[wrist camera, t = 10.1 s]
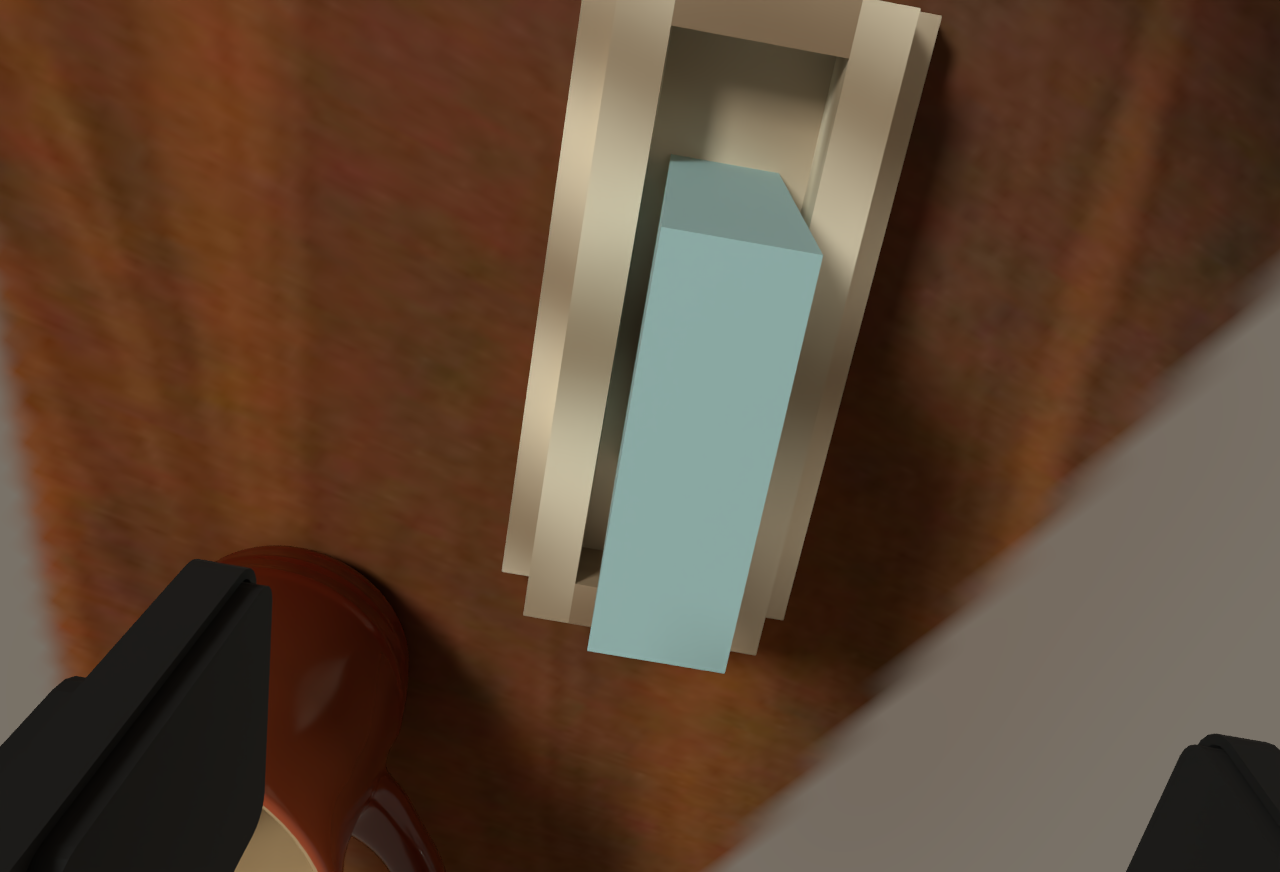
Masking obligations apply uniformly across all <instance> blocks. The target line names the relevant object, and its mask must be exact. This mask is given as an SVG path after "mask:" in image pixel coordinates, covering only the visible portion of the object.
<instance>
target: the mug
mask: <svg viewBox="0 0 1280 872" xmlns="http://www.w3.org/2000/svg"><path fill="white" fill-rule="evenodd" d="M216 562H218V563H224V564H230V565H236V566H241V567H247V568H251V569H252V570H253V571H254V572H255V576H256V584H260V585H265V586H269V587H270V588H271V591H272V625H271V650H270V674H269V699H268V723H267V748H266V773H265V794H264V802H263V807H262V812H261V815H260V819H259V822H258V825H257V827H256V830H255V832H254V834H253V836H252V838H251V840H250V842H249V844H248V846H247V848H246V850H245V851H244V853H243V855H242V857H241V859H240V861H239V863H238V865H237V867H236V869H235V871H234V872H343V870H344V859H345V854H346V850H347V846H348V843H349V840H350V837H353V838H355V839H357V840H358V841H360V842H361V843H363V844H364V845H366V846H367V847H368V848H370V849H371V850H372V851H373V852H374V853H375V854H376V855H377V856H378V857H379V858H380V859H381V860H382V862H383V863H384V864H385V865H386V867H387V868H388V870H389V872H446V870H445V867H444V864H443V862H442V859H441V856H440V854H439V852H438V850H437V848H436V846H435V844H434V842H433V841H432V839H431V837H430V835H429V834H428V832H427V830H426V828H425V827H424V825H423V823H422V821H421V820H420V818H419V816H418V814H417V812H416V810H415V808H414V806H413V805H412V803H411V801H410V799H409V797H408V796H407V794H406V793H405V791H404V790H403V789H402V787H401V786H400V785H399V784H398V783H397V782H396V781H395V779H394V778H393V777H392V776H391V775H390V774H389V772H388V770H387V768H386V760H387V756H388V753H389V751H390V748H391V746H392V744H393V743H394V741H395V740H396V738H397V736H398V734H399V732H400V728H401V724H402V719H403V711H404V707H405V703H406V697H407V689H408V672H409V652H408V646H407V641H406V637H405V633H404V630H403V628H402V625H401V622H400V620H399V618H398V616H397V614H396V612H395V611H394V609H393V608H392V606H391V605H390V603H389V602H388V600H387V599H386V598H385V597H384V595H383V594H382V593H381V592H380V591H379V590H378V589H377V588H376V587H375V586H374V585H373V584H372V583H371V582H370V581H369V580H368V579H367V578H365V577H364V576H363V575H361V574H360V573H359V572H357V571H356V570H354V569H353V568H351V567H350V566H348V565H346V564H344V563H342V562H341V561H339V560H337V559H334V558H332V557H330V556H327V555H325V554H322V553H319V552H316V551H312V550H308V549H304V548H298V547H292V546H261V547H254V548H249V549H244V550H241V551H238V552H235V553H232V554H230V555H227V556H225V557H223V558H221V559H219V560H218V561H216Z"/></svg>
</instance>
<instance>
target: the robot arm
mask: <svg viewBox="0 0 1280 872" xmlns="http://www.w3.org/2000/svg"><path fill="white" fill-rule="evenodd" d="M271 625H272V591H271V588H270V587H269V586H265V585H260V584H256V576H255V572H254V571H253V570H252V569H251V568H247V567H241V566H236V565H230V564H224V563H218V562H212V561H206V560H201V559H194V560H192V561H190V562H189V563H188V564H187V565H186V566H185V567H184V568H183V569H182V570H181V571H180V573H179V574H178V575H177V576H176V577H175V578H174V579H173V581H172V582H171V583H170V584H169V585H168V586H167V587H166V588H165V590H164V591H163V592H162V593H161V594H160V595H159V596H158V597H157V599H156V600H155V601H154V602H153V603H152V604H151V605H150V606H149V608H148V609H147V610H146V611H145V612H144V613H143V614H142V615H141V617H140V618H139V619H138V620H137V621H136V622H135V623H134V624H133V626H132V627H131V628H130V629H129V630H128V631H127V632H126V633H125V635H124V636H123V637H122V638H121V639H120V640H119V641H118V642H117V644H116V645H115V646H114V647H113V648H112V649H111V650H110V651H109V653H108V654H107V655H106V656H105V657H104V658H103V659H102V660H101V662H100V663H99V664H98V665H97V666H96V667H95V668H94V669H93V671H92V672H91V673H90V674H89V675H88V676H87V677H86V678H84V677H78V676H74V677H71V678H68V679H65V680H64V681H62V682H61V683H60V684H59V685H58V686H56V687H55V688H54V689H53V690H52V691H51V692H50V693H49V694H48V695H47V696H46V698H45V699H44V700H43V701H42V702H41V703H40V704H39V705H38V706H37V707H36V708H35V709H34V711H33V712H32V713H31V714H30V715H29V716H28V717H27V718H26V719H25V720H24V721H23V723H22V724H21V725H20V726H19V727H18V728H17V729H16V730H15V731H14V732H13V733H12V734H11V736H10V737H9V738H8V739H7V740H6V741H5V742H4V743H3V744H2V745H1V746H0V872H234V871H235V869H236V867H237V865H238V863H239V861H240V859H241V857H242V855H243V853H244V851H245V850H246V848H247V846H248V844H249V842H250V840H251V838H252V836H253V834H254V832H255V830H256V827H257V825H258V822H259V819H260V815H261V812H262V807H263V802H264V794H265V773H266V748H267V723H268V699H269V674H270V650H271ZM1126 872H1280V750H1279V749H1278V748H1277V747H1276V746H1275V745H1272V744H1270V743H1267V742H1261V741H1256V740H1250V739H1244V738H1238V737H1232V736H1225V735H1221V734H1211V735H1207V736H1206V737H1205V738H1203V739H1202V740H1201V741H1200V743H1199V744H1198V745H1190V746H1188V747H1187V748H1186V749H1184V751H1183V752H1182V754H1181V755H1180V757H1179V759H1178V761H1177V764H1176V766H1175V768H1174V770H1173V772H1172V774H1171V776H1170V779H1169V781H1168V783H1167V785H1166V787H1165V789H1164V792H1163V794H1162V796H1161V798H1160V800H1159V802H1158V804H1157V806H1156V809H1155V811H1154V813H1153V815H1152V817H1151V819H1150V821H1149V824H1148V826H1147V828H1146V830H1145V832H1144V835H1143V836H1142V839H1141V841H1140V843H1139V845H1138V847H1137V850H1136V851H1135V854H1134V856H1133V858H1132V860H1131V863H1130V864H1129V867H1128V869H1127V871H1126Z"/></svg>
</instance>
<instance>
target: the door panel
mask: <svg viewBox="0 0 1280 872" xmlns="http://www.w3.org/2000/svg"><path fill="white" fill-rule="evenodd" d="M822 258H823V254H822V252H821V250H820V248H819V247H818V245H817V243H816V241H815V239H814V237H813V235H812V234H811V232H810V230H809V228H808V226H807V224H806V222H805V221H804V219H803V217H802V215H801V213H800V211H799V209H798V208H797V206H796V204H795V202H794V200H793V198H792V196H791V195H790V193H789V191H788V189H787V187H786V185H785V183H784V182H783V180H782V178H781V176H780V174H779V173H775V172H769V171H764V170H758V169H752V168H747V167H741V166H736V165H730V164H724V163H719V162H713V161H707V160H702V159H696V158H690V157H685V156H679V155H673V154H671V157H670V163H669V168H668V174H667V180H666V186H665V191H664V197H663V203H662V209H661V215H660V220H659V226H658V232H657V238H656V243H655V249H654V255H653V261H652V267H651V272H650V278H649V284H648V290H647V295H646V301H645V307H644V313H643V319H642V324H641V330H640V336H639V342H638V347H637V353H636V359H635V365H634V371H633V376H632V382H631V388H630V394H629V399H628V405H627V411H626V417H625V423H624V428H623V434H622V440H621V446H620V451H619V457H618V463H617V469H616V476H615V482H614V488H613V494H612V500H611V507H610V513H609V519H608V525H607V531H606V538H605V544H604V550H603V556H602V562H601V569H600V575H599V581H598V587H597V593H596V600H595V606H594V612H593V618H592V624H591V631H590V637H589V643H588V649H587V651H592V652H598V653H604V654H610V655H616V656H622V657H628V658H634V659H640V660H646V661H652V662H658V663H664V664H670V665H676V666H682V667H688V668H694V669H700V670H706V671H712V672H718V673H724V674H725V670H726V666H727V662H728V657H729V653H730V649H731V645H732V640H733V636H734V632H735V628H736V623H737V619H738V615H739V611H740V606H741V602H742V598H743V594H744V589H745V585H746V581H747V577H748V572H749V568H750V564H751V560H752V555H753V551H754V547H755V543H756V538H757V534H758V530H759V526H760V521H761V517H762V513H763V509H764V504H765V500H766V496H767V492H768V487H769V483H770V479H771V475H772V471H773V466H774V462H775V458H776V454H777V449H778V445H779V441H780V437H781V432H782V428H783V424H784V420H785V415H786V411H787V407H788V403H789V398H790V394H791V390H792V386H793V381H794V377H795V373H796V369H797V364H798V360H799V356H800V352H801V347H802V343H803V339H804V335H805V330H806V326H807V322H808V318H809V313H810V309H811V305H812V301H813V296H814V292H815V288H816V284H817V279H818V275H819V271H820V267H821V262H822Z"/></svg>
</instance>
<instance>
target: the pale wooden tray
mask: <svg viewBox="0 0 1280 872" xmlns="http://www.w3.org/2000/svg"><path fill="white" fill-rule="evenodd" d="M920 9H921V8H916V7H911V6H906V5H900V4H895V3H890V2H884V1H879V0H582V4H581V11H580V18H579V25H578V32H577V39H576V47H575V54H574V61H573V68H572V75H571V82H570V89H569V96H568V104H567V111H566V118H565V125H564V132H563V139H562V146H561V153H560V161H559V168H558V175H557V182H556V189H555V196H554V203H553V210H552V218H551V225H550V232H549V239H548V246H547V253H546V260H545V267H544V275H543V282H542V289H541V296H540V303H539V310H538V317H537V324H536V332H535V339H534V346H533V353H532V360H531V367H530V374H529V381H528V389H527V396H526V403H525V410H524V417H523V424H522V431H521V438H520V446H519V453H518V460H517V467H516V474H515V481H514V488H513V495H512V503H511V510H510V517H509V524H508V531H507V538H506V545H505V552H504V560H503V567H502V572H507V573H513V574H519V575H525V576H529V580H528V586H527V593H526V599H525V606H524V613H523V615H524V616H530V617H536V618H542V619H548V620H553V621H559V622H565V623H571V624H577V625H582V626H588V627H591V624H592V618H593V612H594V606H595V600H596V593H597V587H598V581H599V575H600V569H601V562H602V556H603V550H604V544H605V538H606V531H607V525H608V519H609V513H610V507H611V500H612V494H613V488H614V482H615V476H616V469H617V463H618V457H619V451H620V446H621V440H622V434H623V428H624V423H625V417H626V411H627V405H628V399H629V394H630V388H631V382H632V376H633V371H634V365H635V359H636V353H637V347H638V342H639V336H640V330H641V324H642V319H643V313H644V307H645V301H646V295H647V290H648V284H649V278H650V272H651V267H652V261H653V255H654V249H655V243H656V238H657V232H658V226H659V220H660V215H661V209H662V203H663V197H664V191H665V186H666V180H667V174H668V168H669V163H670V157H671V154H673V155H679V156H685V157H690V158H696V159H702V160H707V161H713V162H719V163H724V164H730V165H736V166H741V167H747V168H752V169H758V170H764V171H769V172H775V173H779V174H780V176H781V178H782V180H783V182H784V183H785V185H786V187H787V189H788V191H789V193H790V195H791V196H792V198H793V200H794V202H795V204H796V206H797V208H798V209H799V211H800V213H801V215H802V217H803V219H804V221H805V222H806V224H807V226H808V228H809V230H810V232H811V234H812V235H813V237H814V239H815V241H816V243H817V245H818V247H819V248H820V250H821V252H822V254H823V258H822V262H821V267H820V271H819V275H818V279H817V284H816V288H815V292H814V296H813V301H812V305H811V309H810V313H809V318H808V322H807V326H806V330H805V335H804V339H803V343H802V347H801V352H800V356H799V360H798V364H797V369H796V373H795V377H794V381H793V386H792V390H791V394H790V398H789V403H788V407H787V411H786V415H785V420H784V424H783V428H782V432H781V437H780V441H779V445H778V449H777V454H776V458H775V462H774V466H773V471H772V475H771V479H770V483H769V487H768V492H767V496H766V500H765V504H764V509H763V513H762V517H761V521H760V526H759V530H758V534H757V538H756V543H755V547H754V551H753V555H752V560H751V564H750V568H749V572H748V577H747V581H746V585H745V589H744V594H743V598H742V602H741V606H740V611H739V615H738V619H737V623H736V628H735V632H734V636H733V640H732V645H731V649H730V651H733V652H738V653H744V654H750V655H756V653H757V649H758V645H759V641H760V637H761V633H762V629H763V625H764V621H765V617H766V618H772V619H778V620H783V619H784V615H785V612H786V608H787V604H788V600H789V596H790V593H791V589H792V585H793V581H794V577H795V574H796V570H797V566H798V562H799V558H800V555H801V551H802V547H803V543H804V539H805V536H806V532H807V528H808V524H809V520H810V516H811V513H812V509H813V505H814V501H815V497H816V494H817V490H818V486H819V482H820V478H821V475H822V471H823V467H824V463H825V459H826V456H827V452H828V448H829V444H830V440H831V437H832V433H833V429H834V425H835V421H836V417H837V414H838V410H839V406H840V402H841V398H842V395H843V391H844V387H845V383H846V379H847V376H848V372H849V368H850V364H851V360H852V357H853V353H854V349H855V345H856V341H857V338H858V334H859V330H860V326H861V322H862V319H863V315H864V311H865V307H866V303H867V299H868V296H869V292H870V288H871V284H872V280H873V277H874V273H875V269H876V265H877V261H878V258H879V254H880V250H881V246H882V242H883V239H884V235H885V231H886V227H887V223H888V220H889V216H890V212H891V208H892V204H893V200H894V197H895V193H896V189H897V185H898V181H899V178H900V174H901V170H902V166H903V162H904V159H905V155H906V151H907V147H908V143H909V140H910V136H911V132H912V128H913V124H914V121H915V117H916V113H917V109H918V105H919V101H920V98H921V94H922V90H923V86H924V82H925V79H926V75H927V71H928V67H929V63H930V60H931V56H932V52H933V48H934V44H935V41H936V37H937V33H938V29H939V25H940V22H941V18H942V16H940V15H935V14H929V13H924V12H920Z"/></svg>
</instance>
